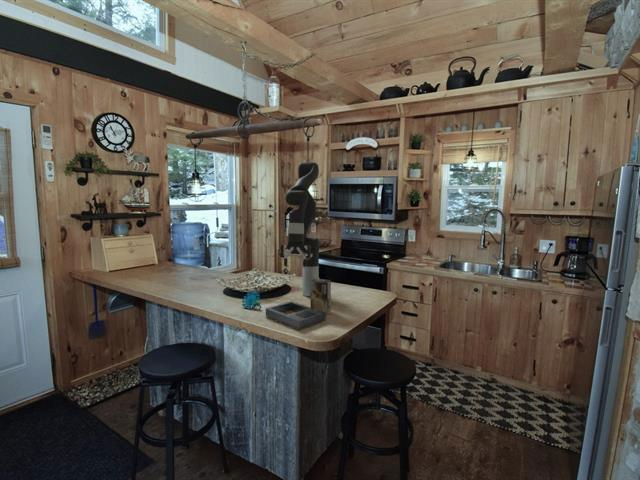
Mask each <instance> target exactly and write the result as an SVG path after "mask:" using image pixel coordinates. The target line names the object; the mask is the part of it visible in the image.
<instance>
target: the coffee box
mask: <svg viewBox="0 0 640 480" xmlns="http://www.w3.org/2000/svg"><path fill="white" fill-rule="evenodd" d="M331 283H332V281H331V279H324V278H322V279H321V278H320V279H313V280H312V281H311V282H310V296H309V297H310V300H309V301H310V308H313V309H316V310H319V311H322V312H325V313H326V316H328V315H329V314H330V313H331V311H332V308H331V307H332V306H331V305H332V301H331V300H332V297H331V296H332V291H331V289H332V288H331V285H332V284H331Z"/></svg>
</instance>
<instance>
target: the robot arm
mask: <svg viewBox="0 0 640 480" xmlns="http://www.w3.org/2000/svg"><path fill="white" fill-rule="evenodd" d="M319 169H320V168H319V164H318V163H317V162H313V161H311V162H310V161H309V162H299V164H298V165H297V177H298V179H297V180H296V183H295V184H294V186H292V187H291V188H290V189H288V191H287V192H286V194H285V198H284V199H285V203H286V204H287V205H288V206H292V207H293V206H296V207H297V206H299V207H298V208H297V209H295V210H294V209H293V210H291V211H289V213H288V228H287V245H286V244H281V245H280V252H279V253H280V254H279V257H280V258H282V259H283V265H284V266H285V267H286V268H287V267H288V257H289V256H290V255H301V257H302V258H303V260H302V295H303V296H304V297H310V282H311V281H312V280H313V279H321V278H320V277H319V273H320V272H319V269H320V268H319V267H320V265H319V264H320V263H319V262H320V240H319V238H317V237H307V236H308V231H309V228H310V227H311V225H312V223H313V222H314V220H315V219H316V216H317V202H316V200H315V198H314V197H313V196H312V194H311V192H310V191H309V189H310V188H311V186H312V185H313V184H314V183H315V182H316V180H317V179H318V178H319V174H320V171H319ZM286 249H287V250H288V251H287V252H286V254H285V255H284V253H285V250H286ZM306 254H307V255H306ZM311 255H312V256H311Z"/></svg>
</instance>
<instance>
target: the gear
mask: <svg viewBox="0 0 640 480" xmlns="http://www.w3.org/2000/svg"><path fill="white" fill-rule="evenodd" d="M244 299H245V300H244ZM260 300H261V298H260V294H259V293H258V292H257V291H255V292H254V291H251V292H247V293H246V295H245V296H243V299H242V300H241V302H242V303H241V304H242V307H243V306H244V308H247V309H248V308H249V309H248V310H251V309H252V308H255V307H256V306H257V307H259V308H260V307H261V308H262V306H261V301H260ZM255 305H256V306H255Z"/></svg>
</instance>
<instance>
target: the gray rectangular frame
mask: <svg viewBox="0 0 640 480" xmlns="http://www.w3.org/2000/svg"><path fill="white" fill-rule="evenodd" d="M290 311H292V312H294V313H290V314H285V313H286V312H290ZM283 312H284V313H283ZM266 316H268V317H270V318H269V319H271V318H272V319H271V320H273V319H274V321H276V320H277V321H276V322H278V321H279V322H278V323H280V322H281V324H283V325H285V324H286V325H285V326H288V327H290V328H292V327H293V328H292V329H295V330H297V331H302V330H304V329H308V328H310V327H313V326H315V325H319V324H321V323H324V322H326V321H327V320H326V319H327V317H326V316H327V315H326V313H325V312H322V311H319V310H316V309H313V308H311V306H306V305H304V304H301V303H298V302H294V301H291V300H290V301H288V302H287V301H286V302H284V303H281V304H276V305H273V306H269V307H266V308H265V317H266ZM268 317H267V318H268Z"/></svg>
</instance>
